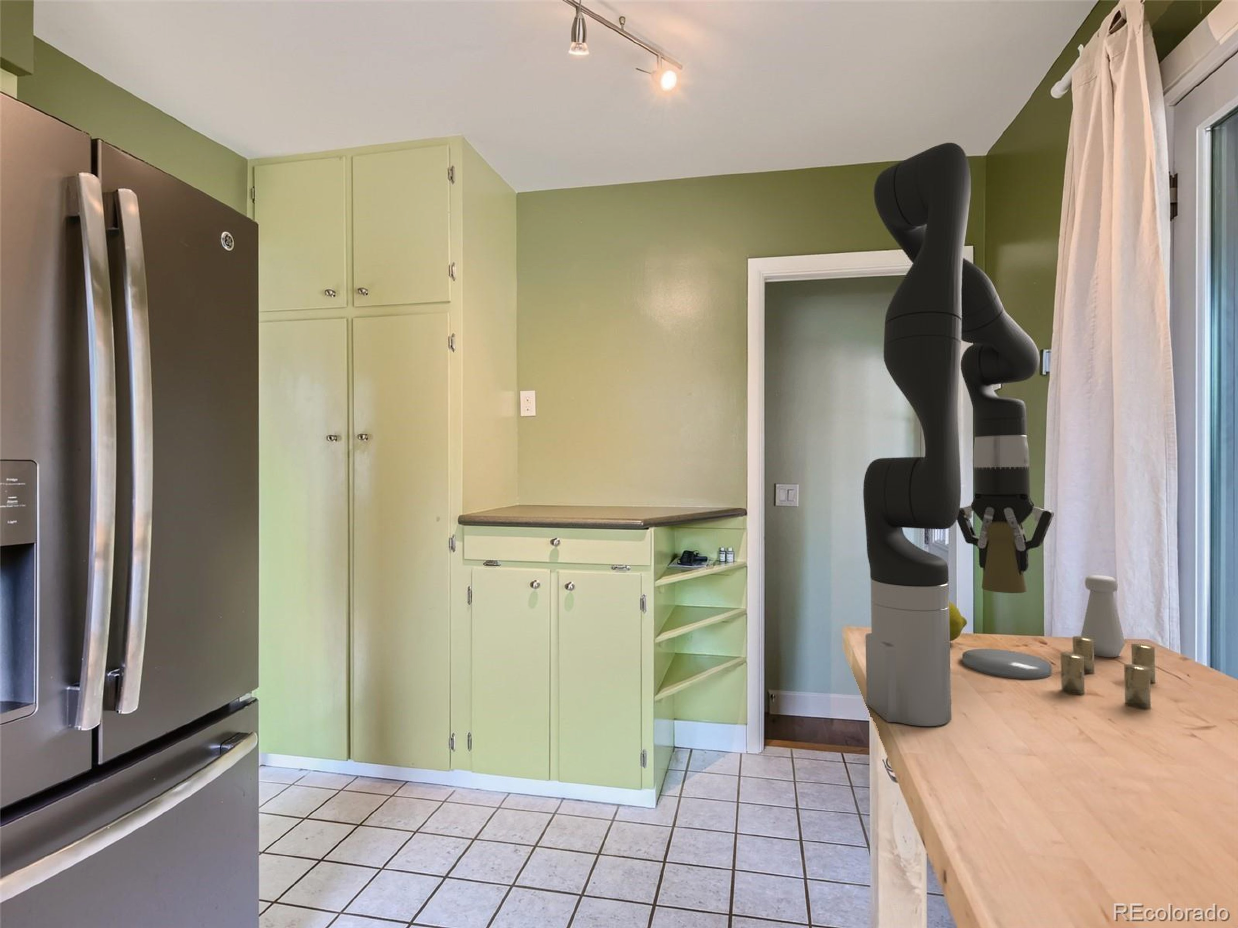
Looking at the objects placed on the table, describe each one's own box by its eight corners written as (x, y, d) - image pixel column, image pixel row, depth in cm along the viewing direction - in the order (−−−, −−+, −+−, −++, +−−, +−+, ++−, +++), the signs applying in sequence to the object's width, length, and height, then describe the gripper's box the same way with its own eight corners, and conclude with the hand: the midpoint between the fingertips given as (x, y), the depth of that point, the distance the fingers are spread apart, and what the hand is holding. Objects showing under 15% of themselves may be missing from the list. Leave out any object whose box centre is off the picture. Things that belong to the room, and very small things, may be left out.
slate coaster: (992, 679, 91) (992, 673, 91) (947, 655, 103) (947, 649, 103) (1071, 677, 91) (1071, 671, 91) (1017, 653, 103) (1016, 647, 103)
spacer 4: (1136, 709, 79) (1135, 670, 79) (1119, 701, 82) (1118, 664, 82) (1156, 708, 79) (1155, 670, 79) (1138, 701, 82) (1137, 663, 82)
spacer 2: (1082, 673, 93) (1081, 640, 93) (1069, 668, 96) (1068, 636, 96) (1098, 673, 93) (1098, 640, 93) (1085, 667, 96) (1084, 635, 96)
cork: (1033, 593, 94) (1032, 521, 94) (990, 592, 95) (988, 521, 95) (1016, 585, 100) (1014, 518, 100) (975, 585, 101) (974, 518, 101)
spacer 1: (1071, 694, 85) (1070, 658, 85) (1057, 688, 87) (1056, 653, 87) (1089, 694, 85) (1088, 658, 85) (1074, 687, 87) (1074, 652, 87)
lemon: (967, 640, 112) (966, 596, 112) (967, 651, 105) (966, 605, 105) (902, 633, 117) (901, 591, 117) (898, 643, 110) (897, 599, 110)
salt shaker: (1127, 660, 99) (1125, 580, 99) (1083, 655, 102) (1081, 577, 102) (1121, 651, 104) (1119, 574, 104) (1079, 646, 107) (1077, 572, 107)
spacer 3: (1142, 683, 89) (1142, 648, 89) (1127, 677, 91) (1126, 643, 91) (1160, 682, 89) (1159, 648, 89) (1144, 676, 91) (1143, 643, 91)
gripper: (1059, 463, 95) (1061, 574, 95) (958, 465, 105) (960, 565, 105) (1050, 464, 90) (1053, 581, 90) (945, 465, 99) (947, 571, 99)
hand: (1003, 572), depth 97 cm, fingers closed on cork, 4 cm apart
